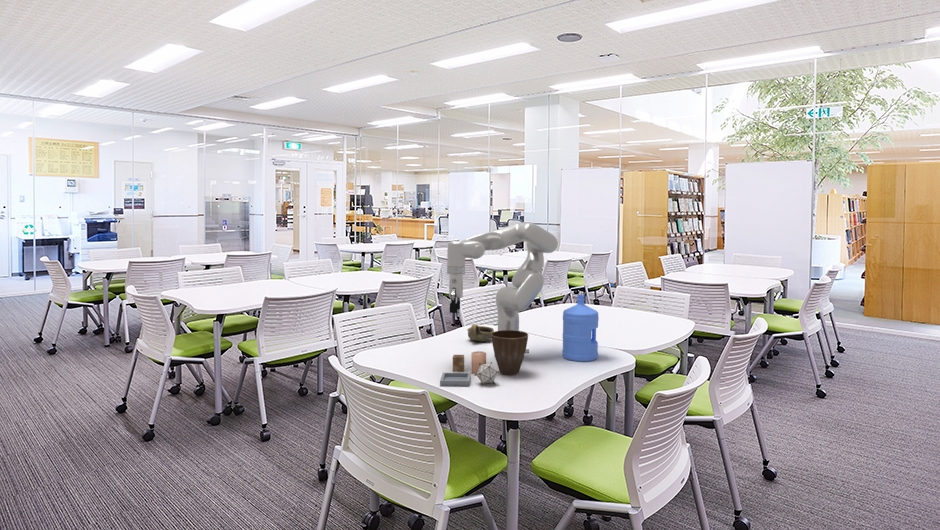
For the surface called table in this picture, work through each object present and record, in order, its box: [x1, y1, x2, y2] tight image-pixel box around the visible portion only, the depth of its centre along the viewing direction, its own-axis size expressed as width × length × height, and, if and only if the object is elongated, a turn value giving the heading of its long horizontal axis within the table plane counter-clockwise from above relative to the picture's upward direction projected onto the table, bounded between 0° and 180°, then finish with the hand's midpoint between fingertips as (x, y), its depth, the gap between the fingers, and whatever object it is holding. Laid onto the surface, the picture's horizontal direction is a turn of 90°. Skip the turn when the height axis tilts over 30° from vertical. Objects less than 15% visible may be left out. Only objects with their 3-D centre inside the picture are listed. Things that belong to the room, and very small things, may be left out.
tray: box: [439, 372, 472, 387], centre depth 216 cm, size 11×11×2 cm
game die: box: [474, 361, 500, 386], centre depth 213 cm, size 9×8×10 cm
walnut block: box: [452, 354, 465, 373], centre depth 232 cm, size 4×4×6 cm
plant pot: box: [491, 330, 529, 376], centre depth 227 cm, size 15×15×16 cm
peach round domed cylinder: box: [470, 350, 487, 375], centre depth 228 cm, size 6×6×8 cm
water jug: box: [561, 294, 599, 362], centre depth 250 cm, size 16×16×28 cm
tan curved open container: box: [466, 323, 495, 343], centre depth 283 cm, size 14×18×10 cm
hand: (454, 311), depth 237 cm, fingers open, 9 cm apart
